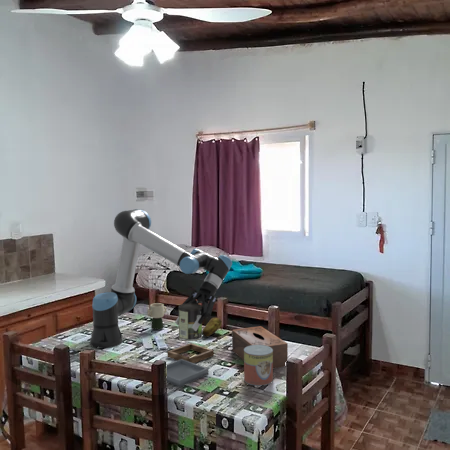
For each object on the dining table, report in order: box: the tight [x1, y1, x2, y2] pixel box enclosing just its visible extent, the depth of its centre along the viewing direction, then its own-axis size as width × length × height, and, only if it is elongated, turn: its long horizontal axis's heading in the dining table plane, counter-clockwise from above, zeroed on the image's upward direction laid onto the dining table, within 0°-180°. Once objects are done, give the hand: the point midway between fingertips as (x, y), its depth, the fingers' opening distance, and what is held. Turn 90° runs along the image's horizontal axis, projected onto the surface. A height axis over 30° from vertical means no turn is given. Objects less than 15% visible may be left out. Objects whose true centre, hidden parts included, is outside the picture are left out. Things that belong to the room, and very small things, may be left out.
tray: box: [166, 359, 209, 388], centre depth 189 cm, size 16×16×2 cm
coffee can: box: [178, 303, 203, 342], centre depth 208 cm, size 10×10×14 cm
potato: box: [202, 317, 223, 338], centre depth 239 cm, size 8×13×8 cm, turn 129°
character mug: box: [147, 302, 167, 330], centre depth 249 cm, size 11×7×13 cm, turn 126°
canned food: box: [243, 345, 274, 387], centre depth 183 cm, size 11×11×12 cm
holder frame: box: [166, 342, 215, 364], centre depth 209 cm, size 14×14×2 cm
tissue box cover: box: [231, 325, 289, 369], centre depth 206 cm, size 26×14×10 cm, turn 21°
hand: (185, 326), depth 206 cm, fingers closed on coffee can, 10 cm apart
